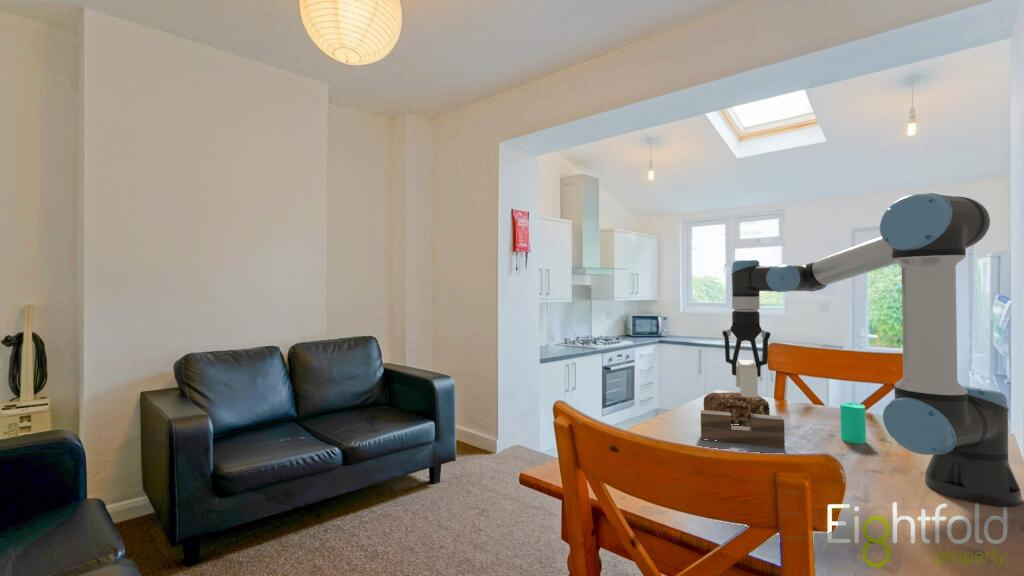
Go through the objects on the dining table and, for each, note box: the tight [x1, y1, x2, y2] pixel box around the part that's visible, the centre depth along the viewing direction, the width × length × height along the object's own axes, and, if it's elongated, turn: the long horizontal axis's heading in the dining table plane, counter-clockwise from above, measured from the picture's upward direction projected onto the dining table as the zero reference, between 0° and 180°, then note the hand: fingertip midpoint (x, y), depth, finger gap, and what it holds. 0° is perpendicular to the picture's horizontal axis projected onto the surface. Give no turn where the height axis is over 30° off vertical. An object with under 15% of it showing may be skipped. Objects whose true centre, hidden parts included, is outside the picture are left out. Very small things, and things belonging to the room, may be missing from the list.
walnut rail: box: [700, 409, 786, 449], centre depth 139 cm, size 4×22×8 cm, turn 69°
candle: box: [839, 399, 867, 445], centre depth 139 cm, size 6×6×12 cm
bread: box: [702, 391, 771, 425], centre depth 160 cm, size 19×11×10 cm, turn 84°
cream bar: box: [737, 359, 759, 398], centre depth 140 cm, size 16×4×8 cm, turn 157°
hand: (746, 386), depth 144 cm, fingers closed on cream bar, 4 cm apart
